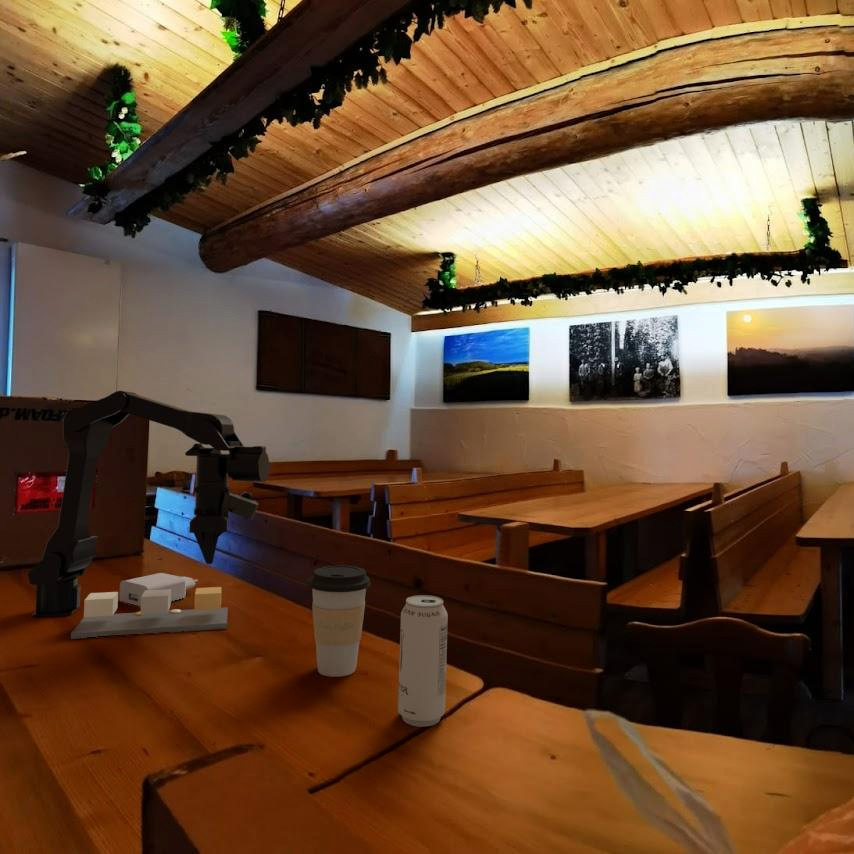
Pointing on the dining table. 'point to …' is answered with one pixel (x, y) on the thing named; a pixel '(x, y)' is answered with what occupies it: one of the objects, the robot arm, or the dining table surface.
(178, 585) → the charger
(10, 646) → the dining table surface
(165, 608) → the key grey
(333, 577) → the coffee cup
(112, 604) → the key cream
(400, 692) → the energy drink can
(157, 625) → the keypad base
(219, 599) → the key amber
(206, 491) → the robot arm
